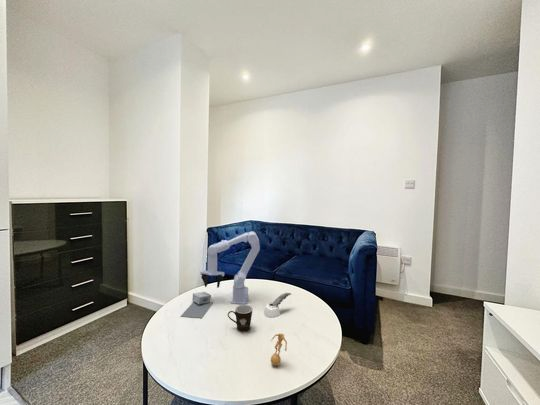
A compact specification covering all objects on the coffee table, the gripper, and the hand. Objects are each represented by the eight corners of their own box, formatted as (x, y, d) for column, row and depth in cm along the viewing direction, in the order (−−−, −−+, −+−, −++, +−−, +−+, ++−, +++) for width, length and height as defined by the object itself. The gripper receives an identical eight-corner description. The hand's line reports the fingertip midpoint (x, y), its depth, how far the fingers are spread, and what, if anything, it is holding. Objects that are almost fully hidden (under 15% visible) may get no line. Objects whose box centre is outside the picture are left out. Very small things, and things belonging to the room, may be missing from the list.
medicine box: (210, 302, 143) (203, 298, 150) (211, 294, 144) (204, 291, 150) (198, 304, 138) (191, 300, 144) (199, 296, 139) (192, 293, 145)
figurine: (264, 361, 96) (265, 332, 95) (275, 354, 100) (276, 326, 100) (279, 373, 90) (280, 342, 89) (290, 365, 94) (291, 336, 93)
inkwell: (260, 311, 135) (261, 294, 134) (285, 304, 145) (286, 288, 144) (269, 319, 127) (270, 301, 127) (295, 310, 137) (296, 294, 137)
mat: (213, 302, 144) (213, 302, 144) (201, 318, 126) (201, 317, 126) (194, 301, 145) (194, 300, 145) (180, 316, 127) (180, 316, 127)
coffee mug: (255, 326, 120) (255, 307, 120) (246, 335, 113) (247, 315, 112) (235, 320, 125) (236, 302, 125) (226, 328, 117) (226, 309, 117)
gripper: (198, 266, 141) (198, 288, 141) (222, 267, 139) (221, 290, 140) (202, 262, 148) (202, 284, 148) (225, 264, 146) (225, 285, 147)
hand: (212, 286), depth 145 cm, fingers open, 7 cm apart
